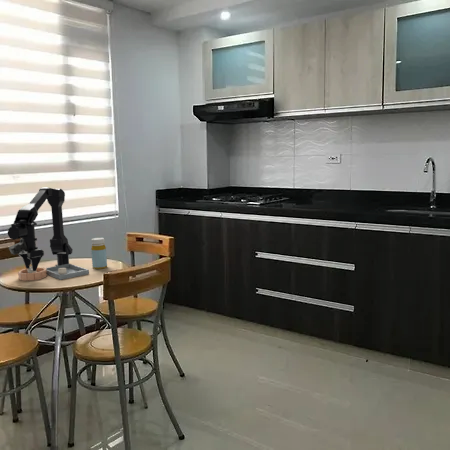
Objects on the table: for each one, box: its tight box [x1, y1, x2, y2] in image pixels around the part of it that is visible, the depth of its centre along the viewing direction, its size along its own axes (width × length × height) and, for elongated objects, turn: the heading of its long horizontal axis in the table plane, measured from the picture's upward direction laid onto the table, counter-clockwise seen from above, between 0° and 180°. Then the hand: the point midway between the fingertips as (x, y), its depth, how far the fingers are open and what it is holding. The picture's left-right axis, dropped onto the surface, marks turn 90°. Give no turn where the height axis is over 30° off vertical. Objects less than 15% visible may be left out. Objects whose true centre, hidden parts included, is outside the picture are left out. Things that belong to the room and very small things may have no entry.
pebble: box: [58, 268, 67, 275], centre depth 220 cm, size 4×4×4 cm
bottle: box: [90, 237, 108, 270], centre depth 236 cm, size 7×7×15 cm
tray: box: [45, 263, 90, 280], centre depth 227 cm, size 20×14×2 cm
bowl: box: [17, 267, 48, 281], centre depth 221 cm, size 12×12×4 cm
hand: (31, 269), depth 219 cm, fingers open, 8 cm apart
